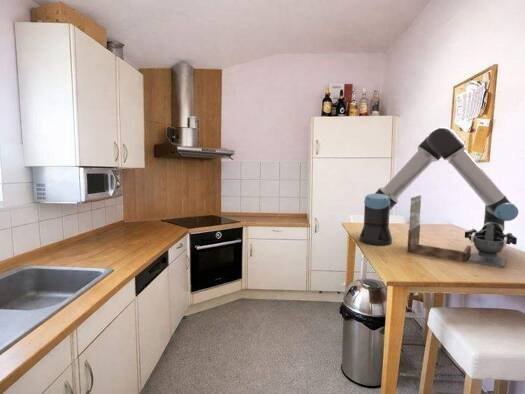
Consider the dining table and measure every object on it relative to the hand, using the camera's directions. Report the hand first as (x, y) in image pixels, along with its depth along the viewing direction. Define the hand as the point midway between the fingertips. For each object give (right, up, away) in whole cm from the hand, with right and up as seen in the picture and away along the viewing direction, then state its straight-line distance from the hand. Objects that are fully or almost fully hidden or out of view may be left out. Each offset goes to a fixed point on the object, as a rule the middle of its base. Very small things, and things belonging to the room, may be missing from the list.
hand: (488, 241), depth 114 cm
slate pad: (+3, -8, +4) cm, 10 cm away
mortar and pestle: (+3, -6, +4) cm, 8 cm away
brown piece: (-10, -7, +15) cm, 20 cm away
